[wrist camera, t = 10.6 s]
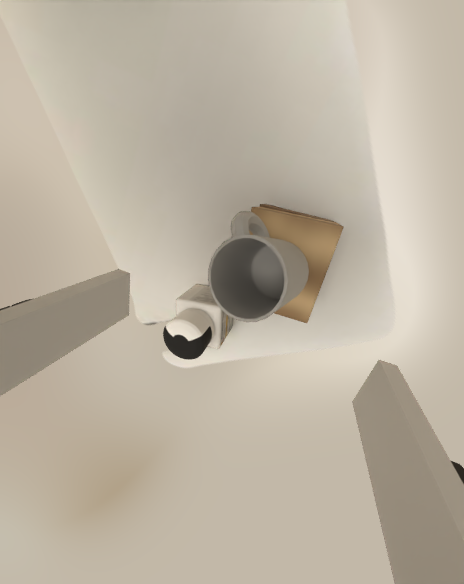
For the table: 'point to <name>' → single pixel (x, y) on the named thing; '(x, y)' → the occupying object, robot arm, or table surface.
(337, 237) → the slab upper
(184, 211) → the table surface
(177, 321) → the container
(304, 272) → the cup
